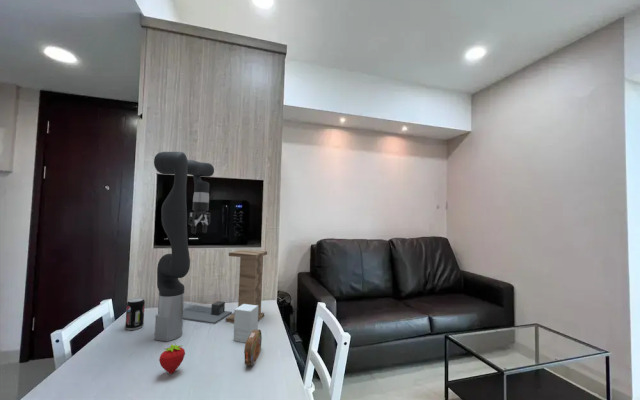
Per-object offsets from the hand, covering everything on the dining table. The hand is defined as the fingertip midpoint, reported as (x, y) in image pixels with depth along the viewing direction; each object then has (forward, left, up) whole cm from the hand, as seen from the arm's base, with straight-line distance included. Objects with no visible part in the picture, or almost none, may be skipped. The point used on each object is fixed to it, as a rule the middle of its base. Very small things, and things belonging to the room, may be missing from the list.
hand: (199, 232), depth 142 cm
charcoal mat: (-3, -6, -40) cm, 40 cm away
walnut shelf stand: (0, -28, -40) cm, 49 cm away
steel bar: (0, -4, -39) cm, 39 cm away
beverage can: (-24, +12, -40) cm, 48 cm away
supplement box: (-18, -38, -40) cm, 58 cm away
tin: (-31, -48, -40) cm, 70 cm away
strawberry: (-47, -28, -40) cm, 68 cm away
